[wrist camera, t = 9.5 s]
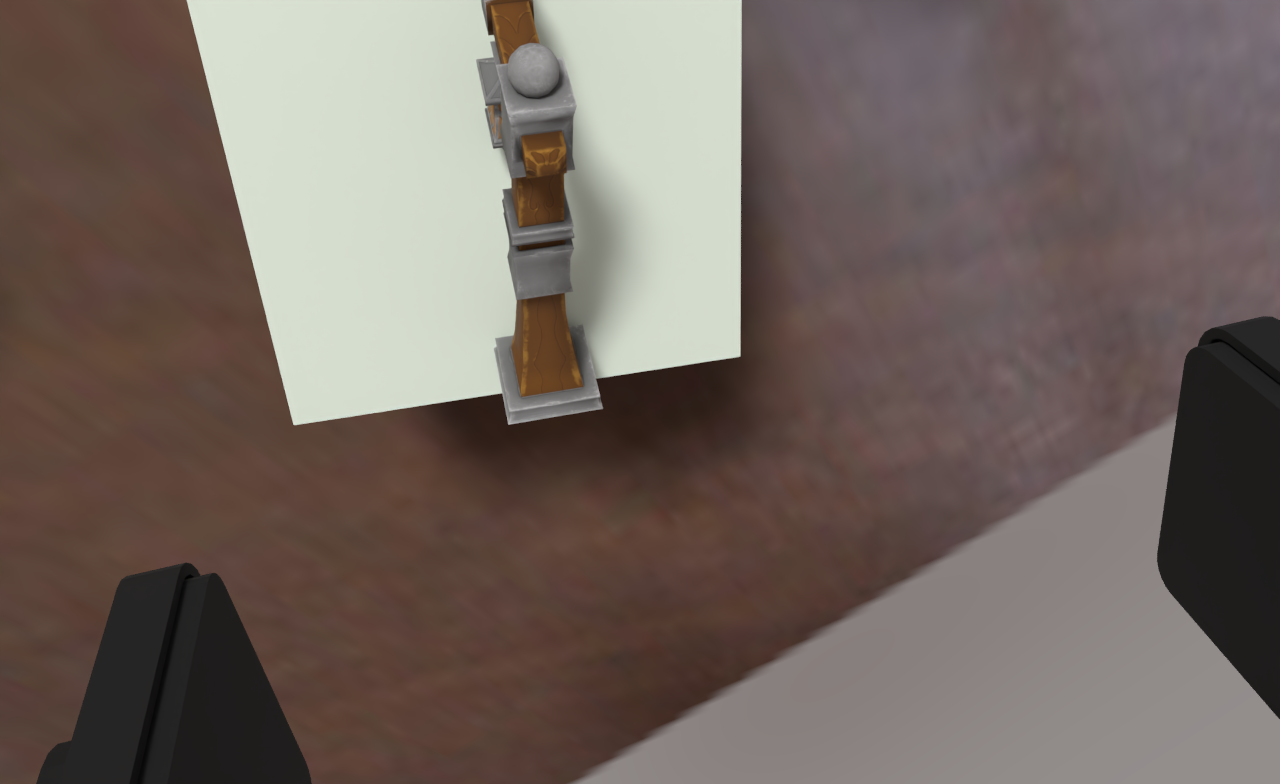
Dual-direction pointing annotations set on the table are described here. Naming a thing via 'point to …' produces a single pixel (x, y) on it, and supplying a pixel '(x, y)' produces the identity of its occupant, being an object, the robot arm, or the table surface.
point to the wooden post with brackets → (535, 218)
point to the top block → (473, 188)
